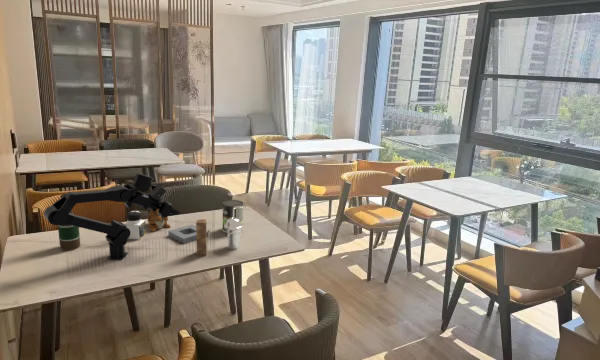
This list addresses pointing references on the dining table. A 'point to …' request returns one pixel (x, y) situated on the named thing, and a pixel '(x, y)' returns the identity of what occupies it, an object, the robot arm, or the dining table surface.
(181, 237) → the socket
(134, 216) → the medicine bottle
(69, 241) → the beer bottle
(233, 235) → the cup with straw
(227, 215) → the coffee can
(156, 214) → the stuffed squirrel
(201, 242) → the peg
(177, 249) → the dining table surface
